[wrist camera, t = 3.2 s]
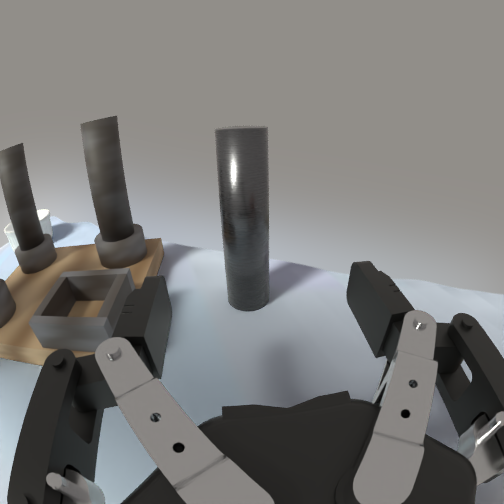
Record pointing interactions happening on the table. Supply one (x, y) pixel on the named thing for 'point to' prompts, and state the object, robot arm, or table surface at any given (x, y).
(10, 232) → the ramekin
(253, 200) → the stool leg
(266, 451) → the robot arm
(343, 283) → the table surface
